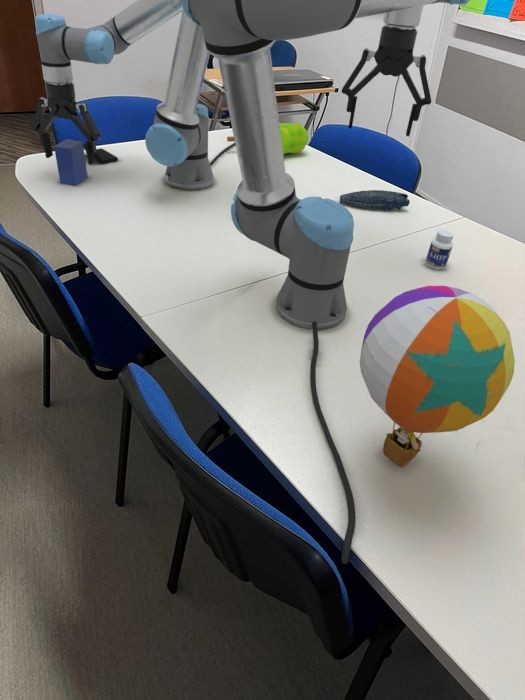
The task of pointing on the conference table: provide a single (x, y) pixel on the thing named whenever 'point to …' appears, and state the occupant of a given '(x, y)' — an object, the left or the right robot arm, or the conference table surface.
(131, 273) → the conference table surface
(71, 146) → the brick
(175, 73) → the left robot arm
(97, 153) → the black handled piece
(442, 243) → the pill bottle
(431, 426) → the toy
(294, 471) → the conference table surface
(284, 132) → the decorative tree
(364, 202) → the fish model
